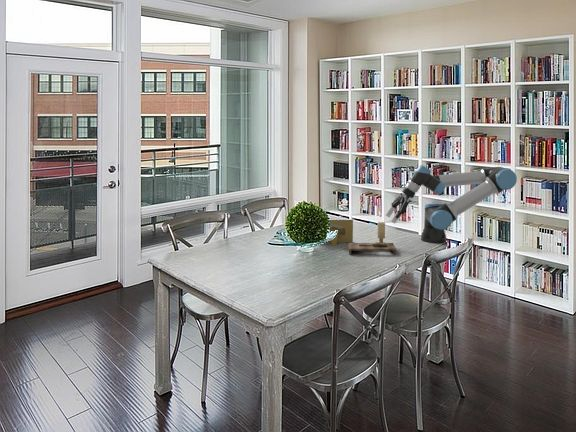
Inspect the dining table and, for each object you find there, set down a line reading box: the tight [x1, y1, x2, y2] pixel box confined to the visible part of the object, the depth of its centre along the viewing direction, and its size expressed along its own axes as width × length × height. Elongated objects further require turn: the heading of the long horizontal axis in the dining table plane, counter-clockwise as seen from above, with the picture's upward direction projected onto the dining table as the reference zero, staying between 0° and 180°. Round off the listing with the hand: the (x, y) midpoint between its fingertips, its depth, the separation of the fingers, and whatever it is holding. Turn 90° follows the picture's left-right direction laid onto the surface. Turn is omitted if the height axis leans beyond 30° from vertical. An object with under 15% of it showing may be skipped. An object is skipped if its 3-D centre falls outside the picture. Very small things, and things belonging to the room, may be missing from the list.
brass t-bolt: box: [374, 221, 387, 243], centre depth 301 cm, size 6×6×14 cm
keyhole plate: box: [347, 242, 397, 255], centre depth 288 cm, size 26×13×4 cm, turn 86°
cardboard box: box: [329, 219, 354, 246], centre depth 308 cm, size 23×9×15 cm, turn 84°
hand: (389, 219), depth 299 cm, fingers open, 13 cm apart
